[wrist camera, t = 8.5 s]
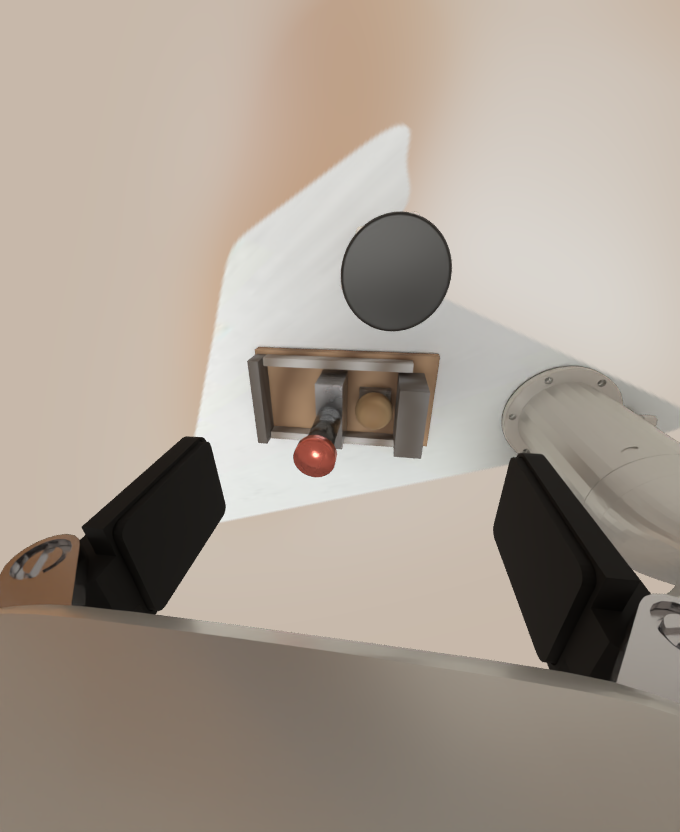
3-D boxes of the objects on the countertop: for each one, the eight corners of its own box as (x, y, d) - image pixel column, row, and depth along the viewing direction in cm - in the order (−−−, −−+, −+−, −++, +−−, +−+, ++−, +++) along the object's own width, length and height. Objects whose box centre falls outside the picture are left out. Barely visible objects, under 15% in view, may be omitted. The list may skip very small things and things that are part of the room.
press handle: (351, 370, 38) (334, 422, 26) (349, 428, 42) (335, 496, 30) (319, 369, 39) (290, 419, 27) (321, 426, 42) (296, 492, 31)
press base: (438, 354, 37) (448, 374, 31) (425, 441, 43) (432, 474, 36) (258, 347, 40) (233, 364, 34) (268, 430, 45) (248, 459, 39)
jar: (359, 317, 37) (347, 342, 26) (343, 238, 33) (323, 230, 23) (439, 299, 35) (462, 320, 24) (432, 214, 31) (454, 193, 21)
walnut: (393, 387, 38) (394, 402, 34) (391, 420, 40) (391, 437, 36) (357, 385, 39) (353, 400, 35) (356, 418, 41) (352, 435, 37)
